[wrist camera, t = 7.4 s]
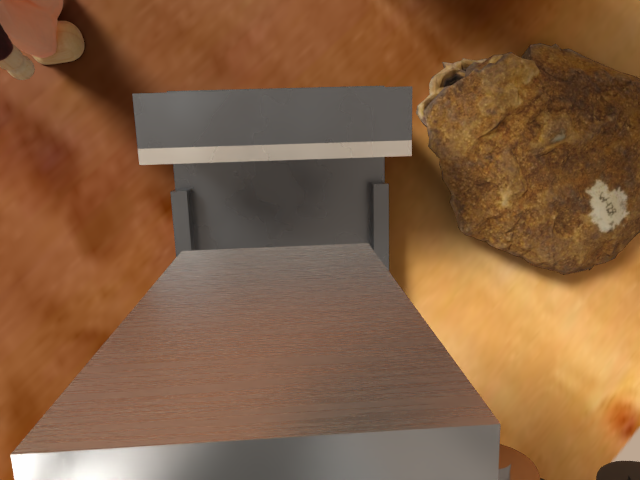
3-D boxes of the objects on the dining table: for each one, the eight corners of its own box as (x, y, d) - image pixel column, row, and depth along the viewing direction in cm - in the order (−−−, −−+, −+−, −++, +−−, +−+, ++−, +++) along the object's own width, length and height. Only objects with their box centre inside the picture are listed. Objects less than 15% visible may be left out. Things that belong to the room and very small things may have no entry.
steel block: (181, 251, 12) (10, 455, 5) (368, 243, 13) (500, 423, 5) (201, 477, 14) (91, 939, 6) (370, 466, 14) (479, 893, 6)
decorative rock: (372, 210, 31) (597, 276, 33) (386, 227, 27) (640, 301, 29) (441, 7, 28) (680, 95, 31) (468, -6, 24) (741, 96, 27)
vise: (382, 392, 33) (418, 490, 24) (197, 403, 32) (164, 508, 23) (380, 87, 29) (422, 69, 20) (171, 92, 28) (119, 76, 19)
